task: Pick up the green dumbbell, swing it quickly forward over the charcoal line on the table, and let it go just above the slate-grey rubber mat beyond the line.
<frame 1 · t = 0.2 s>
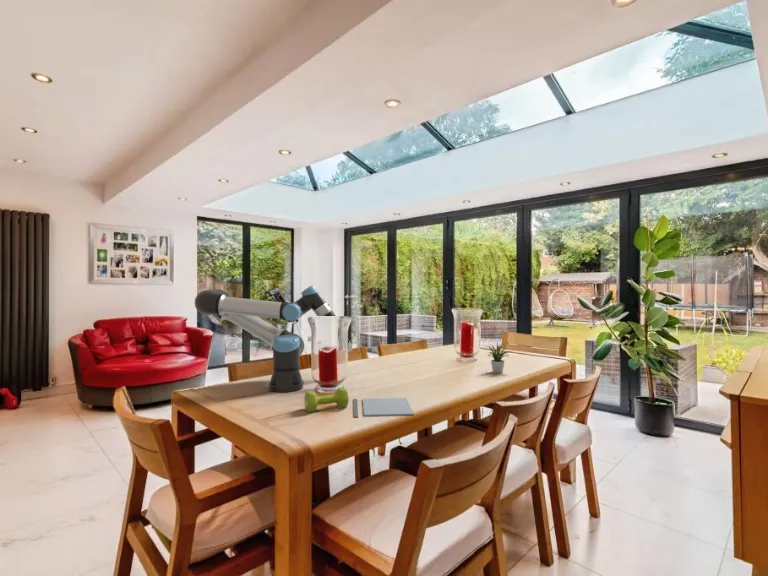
hand: (350, 349, 195), 15 cm above the table, tool tilted 35°, fingers open, 13 cm apart
dumbbell: (326, 409, 151), on the table
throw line: (355, 407, 152), on the table
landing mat: (386, 407, 153), on the table
house plant: (496, 372, 214), on the table
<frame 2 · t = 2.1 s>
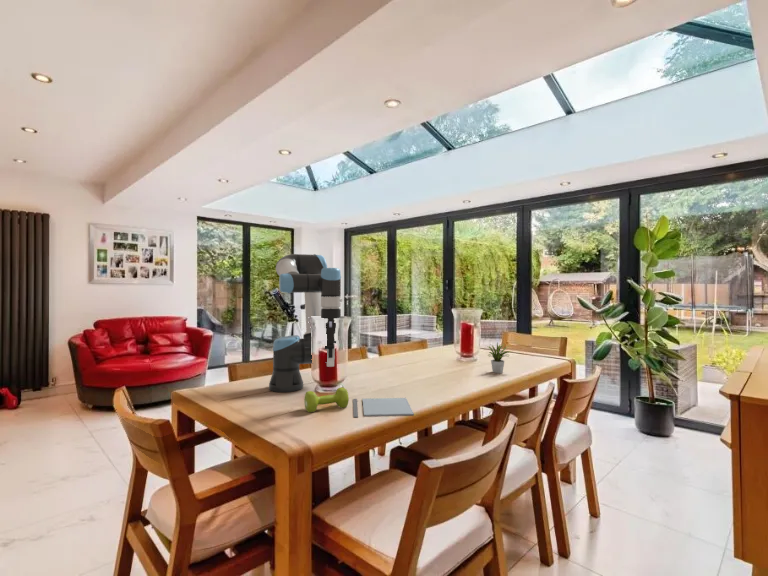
hand: (330, 363, 152), 17 cm above the table, tool pointing down, fingers open, 13 cm apart
nothing on the table moved.
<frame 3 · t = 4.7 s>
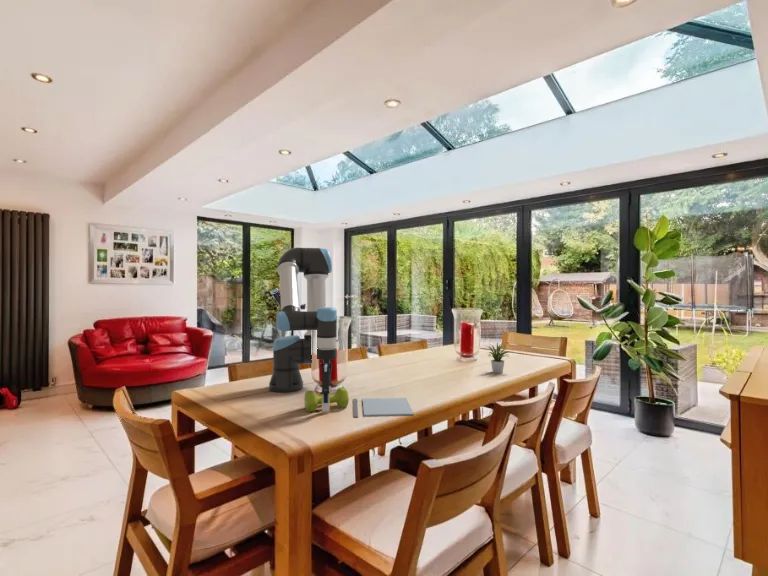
hand: (326, 406, 151), 1 cm above the table, tool pointing down, fingers closed on dumbbell, 9 cm apart
dumbbell: (326, 409, 151), on the table, touching gripper
everything else where it was.
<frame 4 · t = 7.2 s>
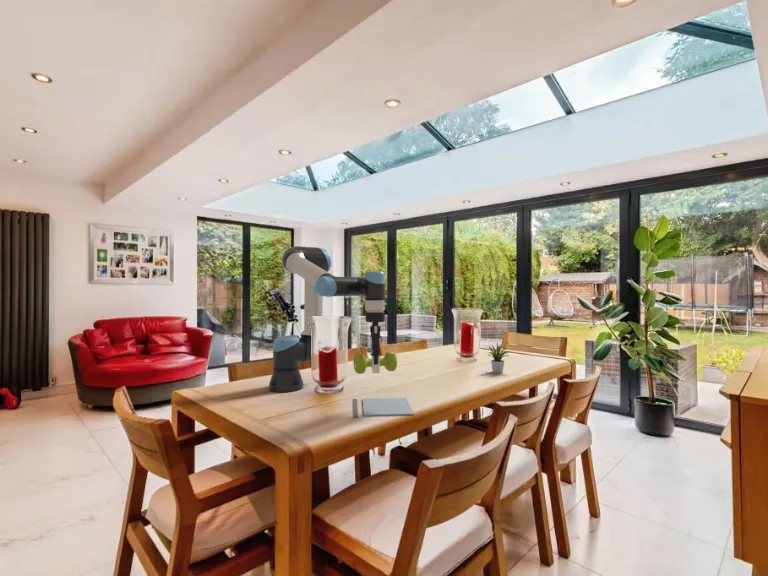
hand: (375, 370, 151), 15 cm above the table, tool pointing down, fingers closed on dumbbell, 9 cm apart
dumbbell: (375, 372, 151), point 14 cm above the table, touching gripper
everything else where it was.
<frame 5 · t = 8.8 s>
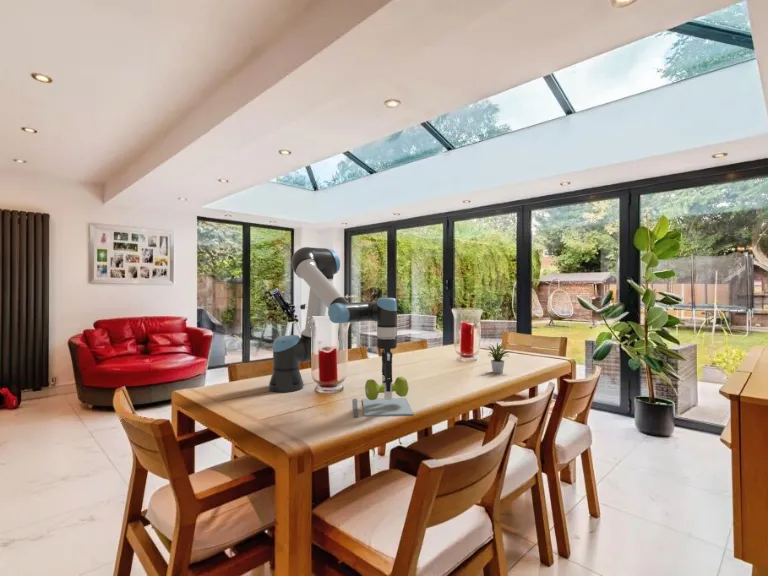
hand: (386, 395, 153), 4 cm above the table, tool pointing down, fingers closed on dumbbell, 9 cm apart
dumbbell: (386, 397, 153), point 4 cm above the table, touching gripper
everything else where it was.
when the fingers open (3 cm above the table, at t = 10.0 s): dumbbell drops 1 cm, resting on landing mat.
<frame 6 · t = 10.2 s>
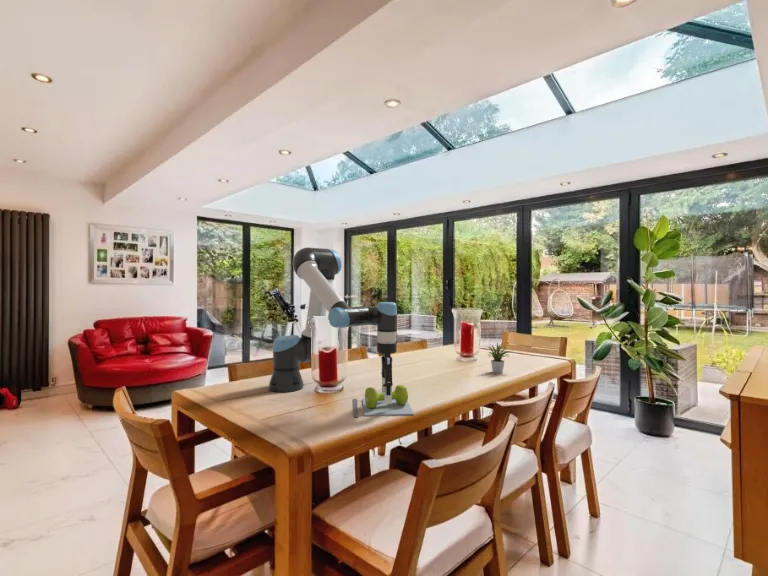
hand: (386, 398, 153), 3 cm above the table, tool pointing down, fingers open, 11 cm apart
dumbbell: (386, 406, 153), resting on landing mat
everything else where it was.
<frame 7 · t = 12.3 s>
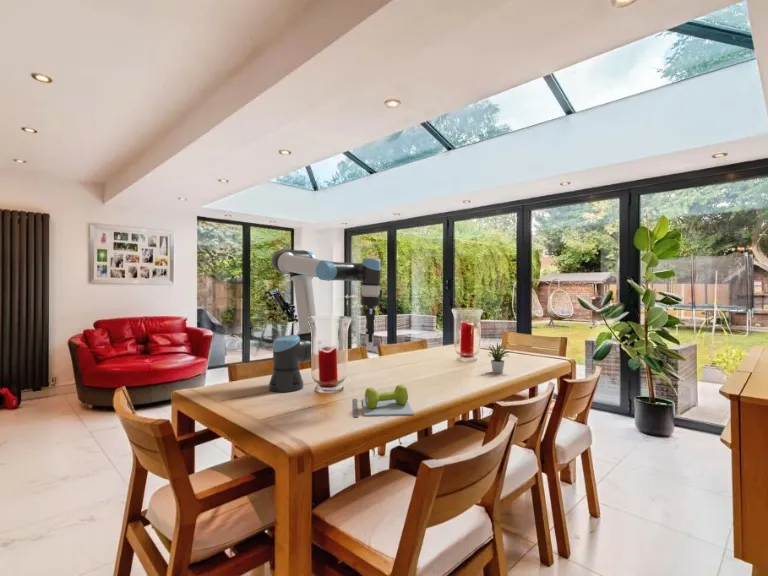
hand: (369, 347, 163), 21 cm above the table, tool pointing down, fingers open, 13 cm apart
nothing on the table moved.
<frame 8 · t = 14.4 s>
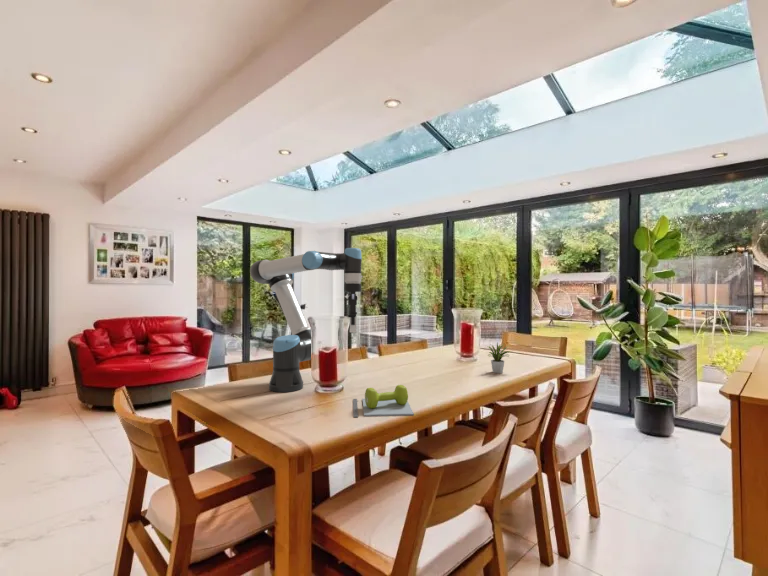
hand: (352, 330, 176), 27 cm above the table, tool pointing down, fingers open, 13 cm apart
nothing on the table moved.
at the end: dumbbell inside the target area (2.6 cm from its centre), resting on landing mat; the gripper is holding nothing; dumbbell moved 22.9 cm from its start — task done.
